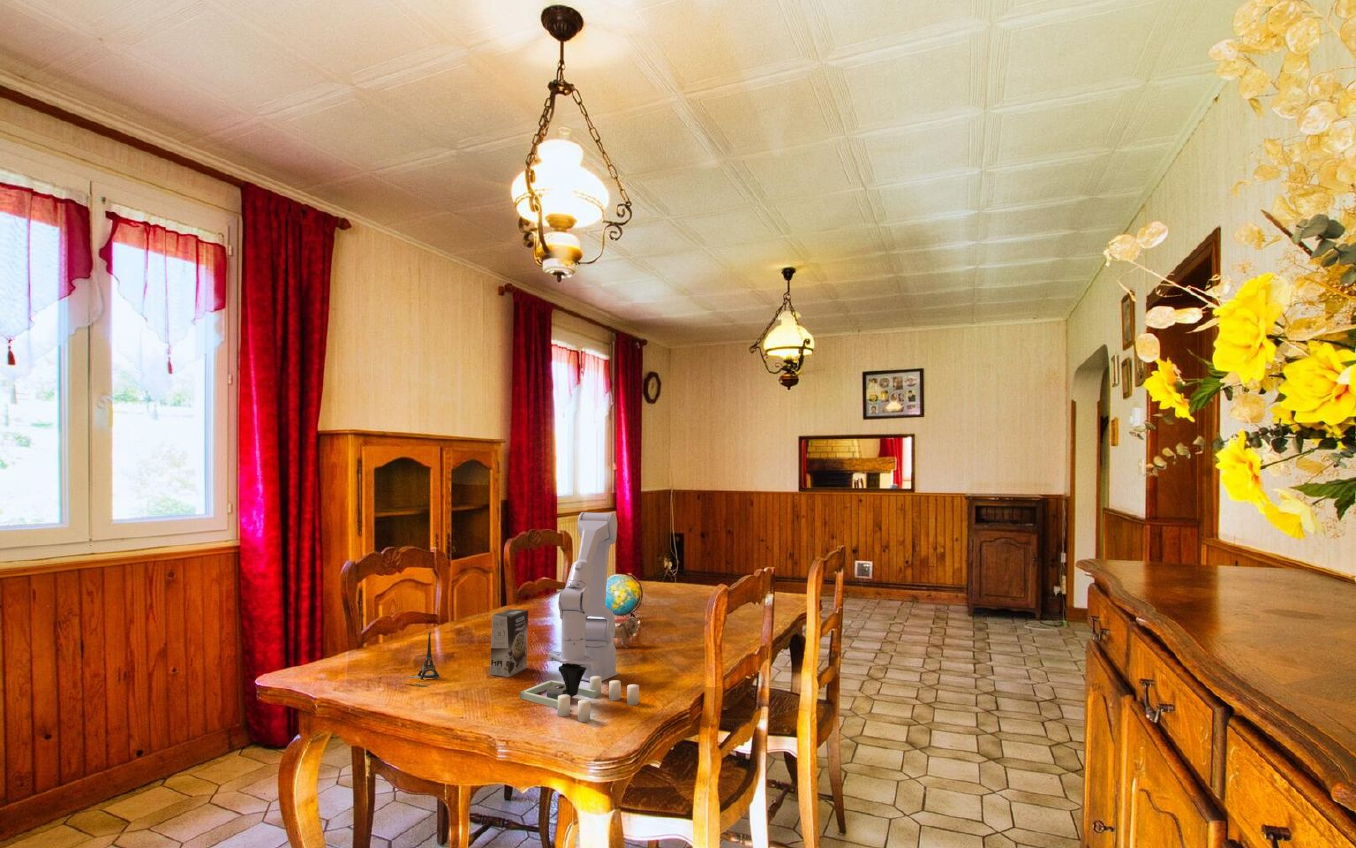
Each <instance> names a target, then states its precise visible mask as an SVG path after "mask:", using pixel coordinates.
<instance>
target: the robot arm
mask: <svg viewBox="0 0 1356 848" xmlns="http://www.w3.org/2000/svg"><path fill="white" fill-rule="evenodd" d="M576 526H577V531H578V534H579V538H580V542H579V544H580V546H579V550H578V556H577V560H576V561H574V562H573V563H572V564H571V568H570V569H569V574H568V577H567V579H566V580H567V581H566V584H565V587H564V589H561V590H560V592H559V594H558V595H559V596H558V610H559V619H560V620H561V645H560V649H561V651H556V650H553V651H549V652H548V653H547V654H548V655H547V661H549V662H557V663H560V664H561V665H560V666H558V672H559V673H560V674H561V677H562V679H563V681H564V682H563V683H565V686H566V690H567V694H568V695H570V697H575V696H578V694H577V693H578V688H579V687H580V684H581V681H585V682H589V683H590V677H592V676H600V677H601V682H603V681H606V680H608V679H610V678H613V677H615V676H617V675H619V672H617V671H616V670H617V669H616V668H617V649H616V646H615V644H614V642H613V641H614V639H615V638H614V636H615V627H616V623H615V621H616V620H615V619H616V618H615V617H616V616H615V614H614V613H613V611H612V610H610V609H609V608H608V607H607V606H606V599H607V598H606V597H607V585H608V584H607V582H608V571H609V570H608V569H609V553H610V548H611V545H613V544H616V541H617V533H618V520H617V515H616V514H615V512H586V511H582V512H580V514H579V515H578V517H577V525H576ZM588 617H589V618H588ZM590 617H593V618H590ZM594 617H595V618H594ZM597 617H598V618H597Z"/></svg>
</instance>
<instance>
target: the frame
mask: <svg viewBox="0 0 1356 848" xmlns="http://www.w3.org/2000/svg"><path fill="white" fill-rule="evenodd" d="M556 683H561V684H565V682H561V681H558V680H553V679H551V680H547V681H545V682H543V683H540V684H537V685H535V686H532V687H530V688H527V689H525V690H522V691H520V692H519V699H521V700H525V701H529V702H532V703H536V704H539V705H543V706H545V707H546V706H547V707H550V708H555V709H558V700H556V699H552V698H548V697H547V696H544V695H540V694H539V693H542V692H544V691H547V688H549V687H550V686H552V685H554V684H556ZM577 695H580V696H584V697H587V698H591V699H595V698H597V697H598V696H597V691H595V690H591V689H590V688H587V687H582V686H579V688H578V693H577Z"/></svg>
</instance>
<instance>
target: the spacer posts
mask: <svg viewBox="0 0 1356 848" xmlns="http://www.w3.org/2000/svg"><path fill="white" fill-rule="evenodd" d="M621 682H622V681H621V680H617V679H615V680H614V679H613V680H610V681H609V682H608V685H609V686H608V689H609V690H608V700H609V701H613V702H614V701H615V702H617V701H620V700H621V688H622V687H621V684H622V683H621ZM589 689H591V690H595V691H597V696H596V697H598V696H602V681H601V677H600V676H592V677H590V682H589ZM626 689H627V691H626V694H627V695H626V705H628V706H638V705H639V704H640V685H639V684H633V683H632V684H631V683H630V684H628V685H627V688H626ZM570 715H571V699H570V695H566V694H563V695H559V696H558V708H557V717H561V718H563V717H564V718H565V717H568V716H570ZM590 721H591V700H590V699H580V700H578V701H577V722H578V723H588V722H590Z"/></svg>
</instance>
